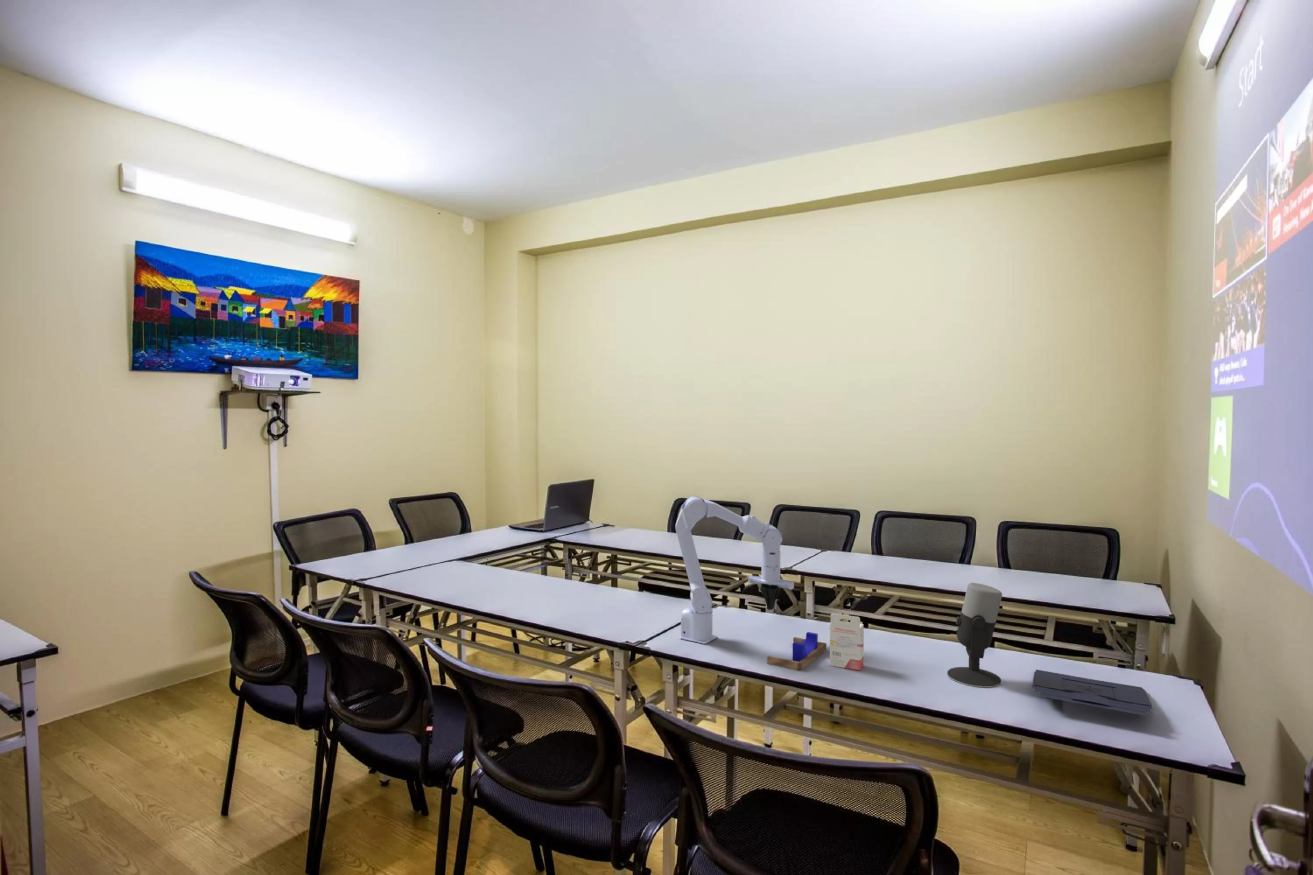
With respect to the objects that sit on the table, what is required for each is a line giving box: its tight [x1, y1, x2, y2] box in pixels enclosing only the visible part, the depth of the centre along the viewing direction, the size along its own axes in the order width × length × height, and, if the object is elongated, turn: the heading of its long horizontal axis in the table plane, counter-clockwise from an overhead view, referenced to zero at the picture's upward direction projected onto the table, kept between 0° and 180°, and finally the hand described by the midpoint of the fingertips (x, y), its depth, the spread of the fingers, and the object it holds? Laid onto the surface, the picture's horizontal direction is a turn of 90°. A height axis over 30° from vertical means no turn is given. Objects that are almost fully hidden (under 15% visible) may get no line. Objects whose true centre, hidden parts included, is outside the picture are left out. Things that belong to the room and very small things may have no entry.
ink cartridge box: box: [829, 613, 865, 671], centre depth 191 cm, size 9×5×15 cm, turn 62°
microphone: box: [946, 582, 1003, 688], centre depth 182 cm, size 13×13×25 cm
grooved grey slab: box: [1032, 669, 1154, 717], centre depth 169 cm, size 24×30×4 cm
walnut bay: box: [766, 636, 827, 672], centre depth 198 cm, size 10×20×2 cm, turn 147°
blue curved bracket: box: [791, 631, 819, 662], centre depth 196 cm, size 12×4×6 cm, turn 147°
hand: (770, 608), depth 213 cm, fingers closed
